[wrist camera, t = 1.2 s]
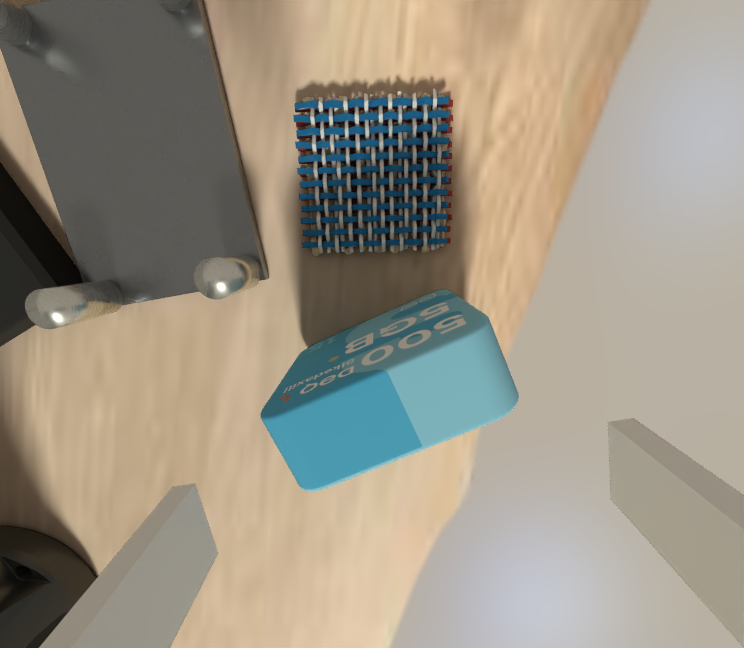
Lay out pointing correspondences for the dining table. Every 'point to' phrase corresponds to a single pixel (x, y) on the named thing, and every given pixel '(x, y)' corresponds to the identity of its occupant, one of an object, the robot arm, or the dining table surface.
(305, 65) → the dining table surface
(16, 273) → the external hard drive
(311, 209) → the woven mat
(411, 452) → the data package
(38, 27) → the chassis
